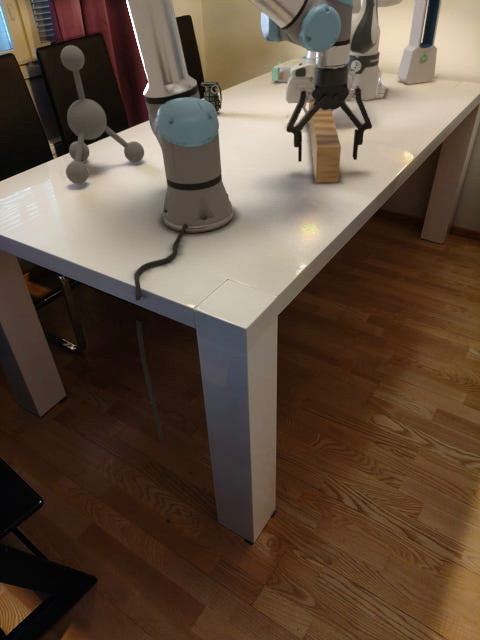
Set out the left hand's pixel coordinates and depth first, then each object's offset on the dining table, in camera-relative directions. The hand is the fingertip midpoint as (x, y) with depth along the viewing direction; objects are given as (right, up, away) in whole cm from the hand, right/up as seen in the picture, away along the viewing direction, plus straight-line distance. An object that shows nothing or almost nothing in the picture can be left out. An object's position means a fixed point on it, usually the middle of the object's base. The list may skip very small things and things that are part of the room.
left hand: (327, 158), depth 122 cm
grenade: (-31, +32, +50) cm, 67 cm away
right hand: (+2, +23, +29) cm, 37 cm away
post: (+1, +9, +17) cm, 19 cm away
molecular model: (-59, +1, +12) cm, 60 cm away
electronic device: (+48, +55, +73) cm, 103 cm away
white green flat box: (+4, +63, +87) cm, 108 cm away
